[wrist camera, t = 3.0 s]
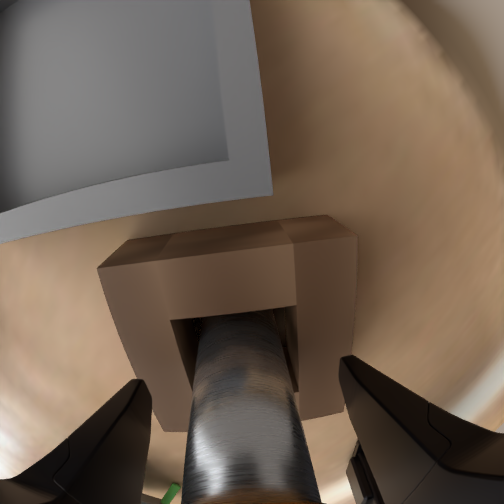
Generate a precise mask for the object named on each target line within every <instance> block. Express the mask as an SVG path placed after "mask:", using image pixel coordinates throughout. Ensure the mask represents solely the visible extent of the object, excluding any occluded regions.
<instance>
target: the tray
mask: <svg viewBox="0 0 504 504" xmlns="http://www.w3.org/2000/svg"><path fill="white" fill-rule="evenodd" d="M272 195H273V186H272V176H271V167H270V157H269V148H268V139H267V130H266V121H265V112H264V104H263V96H262V88H261V80H260V72H259V64H258V57H257V49H256V42H255V35H254V28H253V21H252V14H251V7H250V1H249V0H0V244H1V243H5V242H9V241H13V240H17V239H21V238H25V237H29V236H34V235H38V234H42V233H47V232H51V231H55V230H60V229H65V228H69V227H74V226H79V225H84V224H89V223H94V222H99V221H104V220H109V219H114V218H120V217H125V216H131V215H137V214H142V213H148V212H154V211H160V210H167V209H173V208H180V207H186V206H193V205H200V204H207V203H214V202H222V201H230V200H237V199H246V198H254V197H263V196H272Z"/></svg>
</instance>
